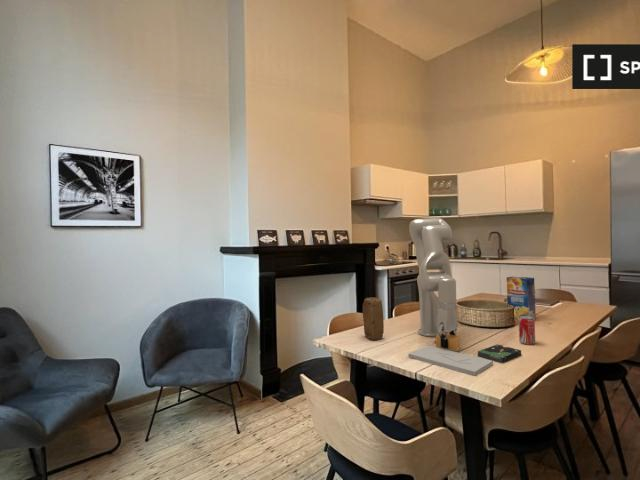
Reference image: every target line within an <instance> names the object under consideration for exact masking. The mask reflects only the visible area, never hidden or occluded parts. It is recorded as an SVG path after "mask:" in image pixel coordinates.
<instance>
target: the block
mask: <svg viewBox="0 0 640 480" xmlns="http://www.w3.org/2000/svg"><path fill="white" fill-rule="evenodd" d="M382 302H383V301H382V299H381V298H379V297H374V296H373V297H370V296H369V297H366V298H364V300H363V303H362V319H363V320H362V321H363V331H364V335H365V337H366V338H367V339H369V340H372V341H378V340H381V339H382V338H383V337H384V330H385V327H384V326H385V324H384V323H385V322H384V311H383V310H384V308H383V303H382Z"/></svg>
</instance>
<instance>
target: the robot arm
mask: <svg viewBox="0 0 640 480" xmlns="http://www.w3.org/2000/svg"><path fill="white" fill-rule="evenodd" d="M408 230H409V235H410V237H411V240H412V243H413V244H414V248H415V249H414V250H415V255H416V256H415V257H416V261H417V262H416V263H417V266H418V268H419V274H418V276H417V279H416V281H417V289H418V293H419V294H418V295H419V318H420V329H418V330H417V334H418V335H420V336H424V337H429V338H430V337H431V338H433V337H435V338H436V336H437V335H438V334H439V336H440V339H441V347H443V348H448V339H447V335H448V334H450V335H456V336H457V330H458V325H459V324H458V313H457V280H456V279H455V278H454V277H453V274H452V268H451V262H450V258H449V256H448V254H447V253H446V252H444V247H443V243H444V242H450V241H451V240H452V238H453V231H452V228H451V226H450V225H449V224H448V222H446V221H445V220H444V219H443V218H440V217H439V218H438V217H435V218H434V217H430V218H417V219H413V220H411V221H410V222H409V228H408ZM436 292H437V294H436ZM437 295H438V296H437ZM443 333H444V334H445V335H444V334H443ZM443 348H442V349H443Z"/></svg>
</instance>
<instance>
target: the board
mask: <svg viewBox="0 0 640 480" xmlns="http://www.w3.org/2000/svg"><path fill="white" fill-rule="evenodd" d="M407 355H408V356H407V357H408V358H410V359H414V360H416V361H421V362H424V363H428V364H432V365H434V366H438V367H442V368H444V369H449V370H452V371H456V372H459V373H462V374H463V373H464V374H466V375H469V376H470V375H471V376H474V377H475V376H478V375H479V374H481V373H482V372H484V371H486V370H487V369H489V368H490V367H491V366H493V365H494V361H492V360H488V359H485V358H481V357H478V356H475V355H471V354H465V353H460V352H458V351H453V350H448V349H443V348H438V347H436V346H432V345H429V344H428V345H425V346H424V347H423V346H422V347H421V348H418V349H416V350H414V351H411V352H409V353H407Z"/></svg>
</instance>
